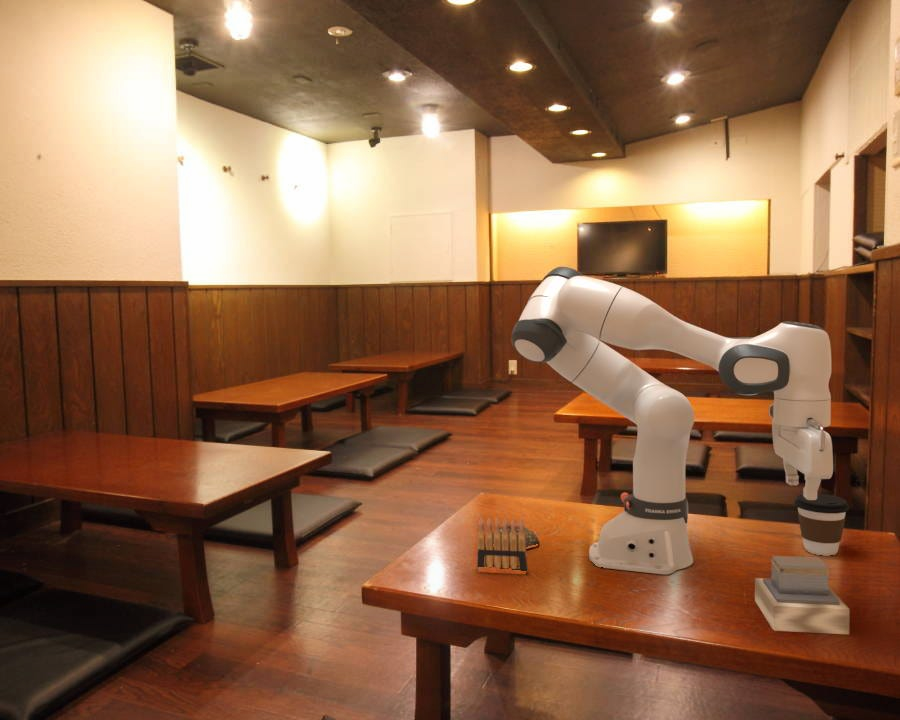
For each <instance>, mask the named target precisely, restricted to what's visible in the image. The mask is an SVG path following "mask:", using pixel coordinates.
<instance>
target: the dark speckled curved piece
mask: <svg viewBox="0 0 900 720" xmlns="http://www.w3.org/2000/svg"><path fill="white" fill-rule="evenodd" d="M507 525H508V535H509V548H510V535H511V523H507ZM502 527H503V524H502V525H501V526H500V535H501V548H502ZM524 528H525V537H526V547H528V546H532V545H536V544H539V545H540V540H539V537H538V536H537V534H535V533H534V531H532V530H531V529H529V528H528V527H527V528H526V527H525V526H524ZM516 532H517V539H518V537H519V525H518V524H516ZM492 535H493V544H494V531H492Z"/></svg>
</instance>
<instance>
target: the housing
mask: <svg viewBox="0 0 900 720" xmlns="http://www.w3.org/2000/svg"><path fill="white" fill-rule="evenodd" d="M770 561H771V579H772V585H773V586H774V587H775V589H776V590H777V592H778V593H779V594H797V595H822V596H828V586H829V573H830V572H829V571H830V570H829V566H828V565H827V564H826V563H825V562H824V561H823V559H822V558H820V556H819V557H818V556H785V555H784V556H783V555H771V560H770Z"/></svg>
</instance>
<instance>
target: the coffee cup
mask: <svg viewBox="0 0 900 720" xmlns="http://www.w3.org/2000/svg"><path fill="white" fill-rule="evenodd" d="M794 506H795V507H797V517H798V522H799V529H800V534H801V537H802V541H803V543H802V544H803V547H804V549H805V551H806V550H807V551H808V552H807V551H806V552H807V553H809V552H810V553H809V554H811V553H812V555H814V554H816V555H815V556H819V555H823V556H822V557H831V556H830V555H834V556H835V555H837V553H838V552H839V548H840V547H839V546H840V543H841V542H842V537H843V532H844V527H845V524H846V523H845V522H846V513H847V512H849V511H850V505H849V503H848V501H847V500H846V499H844V498H843V497H840V496H837V495H832V494H826V493H818V492H817V499H816V500H807V499H806V498H805V497H804V496H803V493H802V494H798V495H797V496H796V498H795V499H794Z"/></svg>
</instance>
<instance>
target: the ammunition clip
mask: <svg viewBox="0 0 900 720" xmlns="http://www.w3.org/2000/svg"><path fill="white" fill-rule="evenodd" d="M510 524H511V535H510V548H509V535H508V521H507V517H504V519H503V521H502V525H503V527H502V548H501V535H500V527H501V526H500V521H499V518H498V517H496V518H495V521H494V527H493V528H494V530H493V529H492V521H491V518H490V517H489V516H488V518H487V520H486V526H485V525H484V520H483V518H482V517H479V520H478V529H477V531H478V533H477V565H476V566H477V567H485V566H486V567H489V568H492V567H495V568H500V569H509V568H511V569H512V570H521V571H527V570H528V559H527V558H528V557H527V550H526V537H525V528H526V527H525V523H524V519H523V518H520V521H519V537H518V539H517V532H516V525H517V524H516V520H515V517H514V518H513V517H512V519H511V523H510ZM485 527H486V528H485ZM524 527H525V528H524ZM485 529H486V531H485ZM493 532H494V547H493V535H492V533H493ZM485 537H486V545H485ZM477 567H476V568H477ZM518 567H519V569H518Z"/></svg>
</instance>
